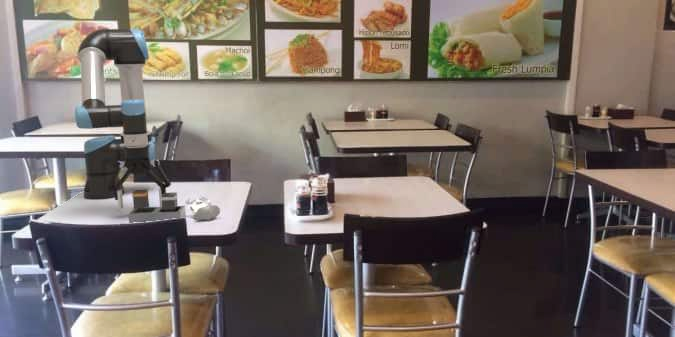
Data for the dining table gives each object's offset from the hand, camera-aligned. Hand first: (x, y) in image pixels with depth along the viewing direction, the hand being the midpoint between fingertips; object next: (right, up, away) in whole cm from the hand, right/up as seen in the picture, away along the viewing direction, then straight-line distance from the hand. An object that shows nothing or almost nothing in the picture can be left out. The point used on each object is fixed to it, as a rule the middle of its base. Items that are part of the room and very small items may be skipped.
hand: (141, 208), depth 194 cm
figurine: (+21, -3, -2) cm, 22 cm away
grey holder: (+9, -5, -10) cm, 14 cm away
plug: (0, -3, +1) cm, 3 cm away
